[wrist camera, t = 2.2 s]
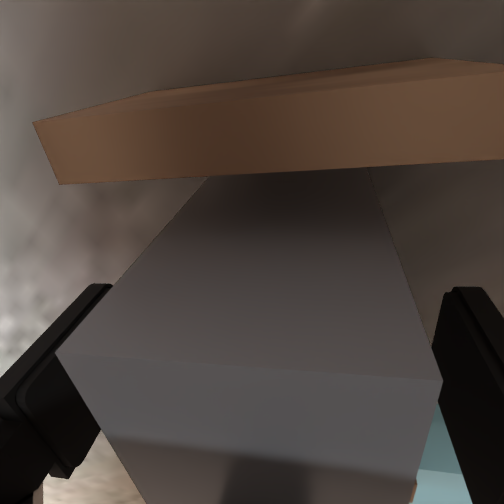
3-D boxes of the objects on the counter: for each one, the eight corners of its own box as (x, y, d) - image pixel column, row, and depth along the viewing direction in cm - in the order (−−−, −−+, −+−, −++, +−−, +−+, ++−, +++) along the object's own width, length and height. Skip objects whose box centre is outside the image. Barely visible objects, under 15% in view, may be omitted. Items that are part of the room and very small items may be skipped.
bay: (432, 57, 8) (538, 67, 4) (387, 374, 15) (412, 502, 11) (151, 91, 10) (32, 122, 6) (218, 362, 16) (182, 468, 12)
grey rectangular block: (364, 163, 10) (479, 483, 3) (354, 327, 14) (392, 662, 6) (212, 172, 11) (-5, 419, 4) (240, 322, 15) (155, 603, 7)
